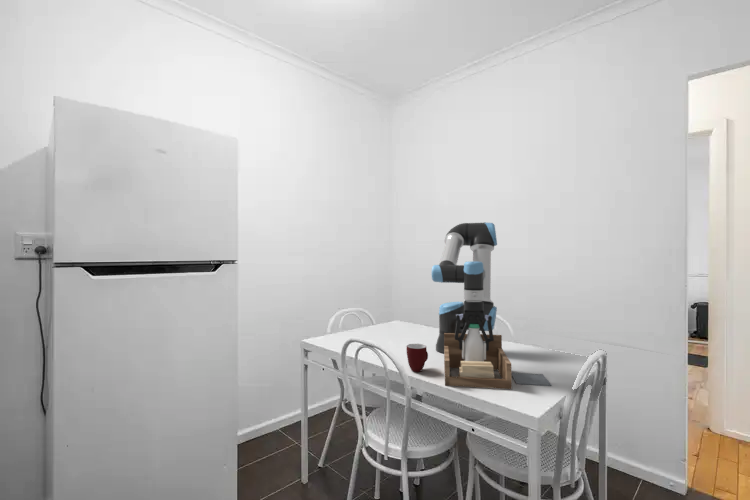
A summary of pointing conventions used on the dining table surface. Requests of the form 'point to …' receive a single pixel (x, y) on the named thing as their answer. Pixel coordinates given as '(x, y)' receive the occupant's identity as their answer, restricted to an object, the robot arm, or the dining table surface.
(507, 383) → the rack
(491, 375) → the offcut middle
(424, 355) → the mug
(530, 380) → the mat
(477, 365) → the offcut top
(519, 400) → the dining table surface
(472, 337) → the milk bottle
